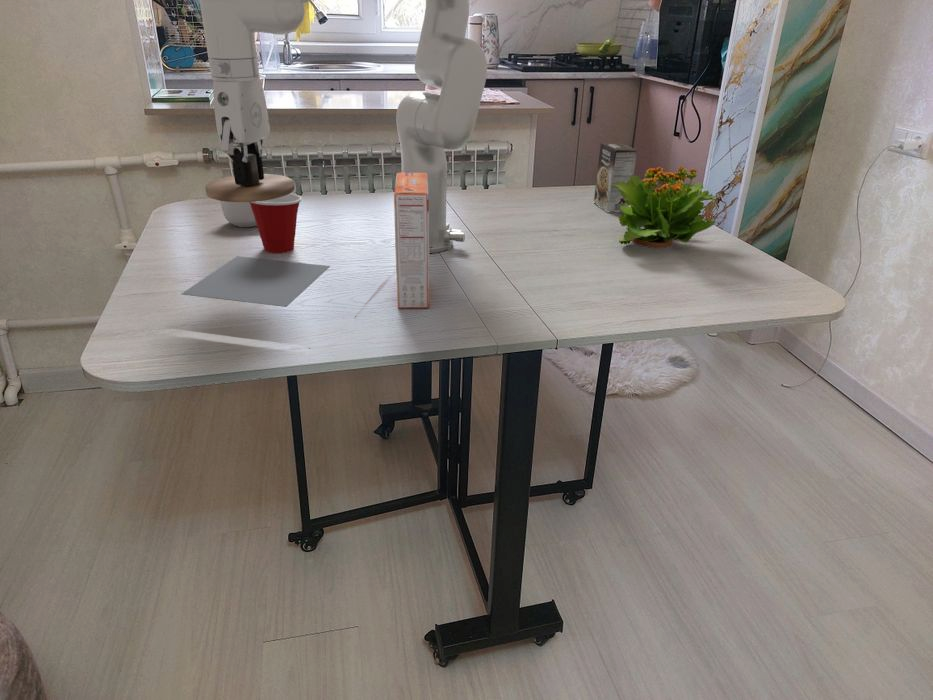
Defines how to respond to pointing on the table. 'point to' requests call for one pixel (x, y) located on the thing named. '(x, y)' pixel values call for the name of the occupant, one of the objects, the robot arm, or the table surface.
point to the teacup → (238, 213)
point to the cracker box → (412, 239)
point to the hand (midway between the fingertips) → (250, 180)
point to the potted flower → (662, 208)
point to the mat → (258, 281)
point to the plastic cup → (277, 222)
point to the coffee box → (613, 174)
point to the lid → (250, 187)
